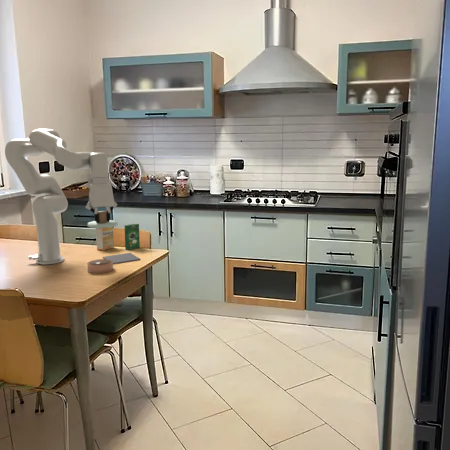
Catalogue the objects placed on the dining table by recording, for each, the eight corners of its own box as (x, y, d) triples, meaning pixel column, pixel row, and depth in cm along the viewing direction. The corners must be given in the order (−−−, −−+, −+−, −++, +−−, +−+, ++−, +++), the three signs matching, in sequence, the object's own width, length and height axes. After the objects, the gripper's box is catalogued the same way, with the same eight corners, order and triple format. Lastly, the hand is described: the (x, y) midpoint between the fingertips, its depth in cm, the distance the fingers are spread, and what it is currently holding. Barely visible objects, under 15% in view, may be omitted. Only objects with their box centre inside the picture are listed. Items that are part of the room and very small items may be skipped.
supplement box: (103, 250, 246) (101, 226, 243) (96, 249, 248) (95, 225, 246) (114, 247, 252) (113, 223, 250) (108, 246, 255) (106, 222, 252)
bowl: (91, 275, 204) (91, 266, 203) (84, 269, 213) (84, 261, 212) (116, 270, 209) (116, 263, 209) (108, 265, 219) (108, 257, 218)
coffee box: (136, 246, 254) (135, 222, 251) (140, 247, 252) (139, 223, 249) (125, 249, 247) (123, 225, 245) (128, 250, 246) (127, 225, 243)
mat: (111, 264, 220) (111, 263, 220) (102, 257, 232) (102, 256, 231) (140, 260, 227) (140, 258, 227) (130, 253, 239) (130, 252, 238)
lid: (91, 229, 203) (90, 215, 202) (84, 224, 214) (83, 210, 213) (121, 226, 209) (120, 212, 208) (113, 221, 220) (112, 208, 219)
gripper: (82, 182, 201) (85, 225, 204) (121, 180, 209) (123, 221, 212) (78, 181, 207) (81, 222, 211) (116, 179, 215) (118, 218, 219)
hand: (102, 221), depth 211 cm, fingers closed on lid, 4 cm apart
